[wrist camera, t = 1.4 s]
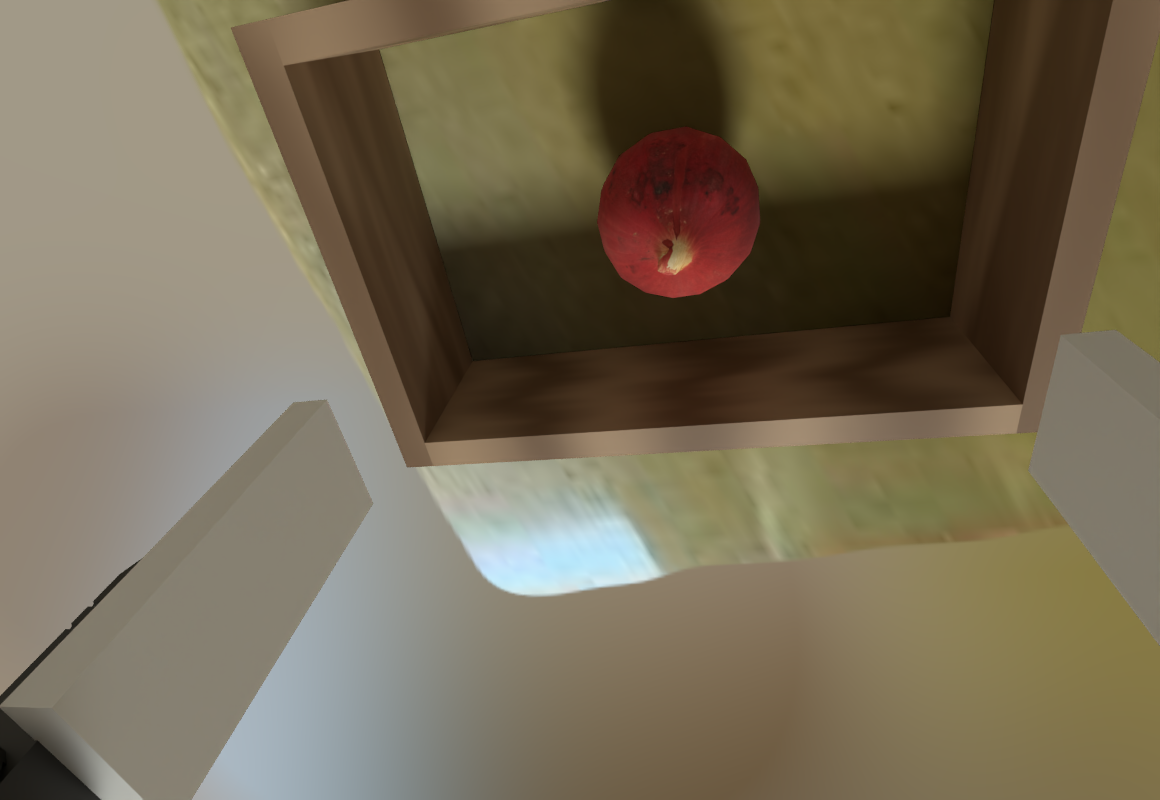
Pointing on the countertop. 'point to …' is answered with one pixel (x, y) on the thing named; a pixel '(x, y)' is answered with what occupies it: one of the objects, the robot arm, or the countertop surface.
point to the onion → (678, 212)
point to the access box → (734, 364)
